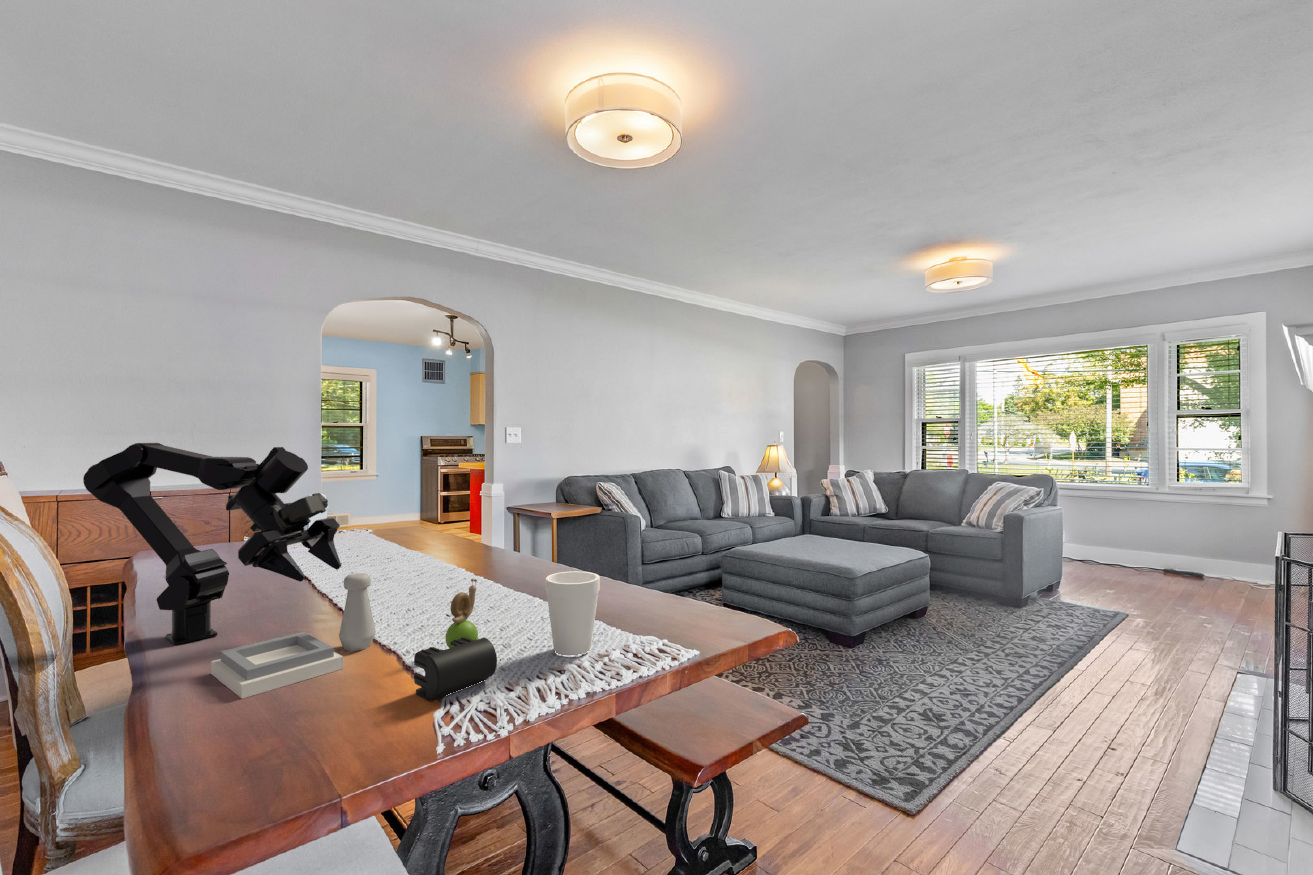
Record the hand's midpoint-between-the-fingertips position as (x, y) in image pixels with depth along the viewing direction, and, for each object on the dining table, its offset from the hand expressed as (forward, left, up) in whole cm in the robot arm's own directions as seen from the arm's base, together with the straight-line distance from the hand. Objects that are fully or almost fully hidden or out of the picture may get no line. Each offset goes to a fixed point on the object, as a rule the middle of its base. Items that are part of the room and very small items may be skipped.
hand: (322, 573), depth 106 cm
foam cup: (+37, +26, -13) cm, 47 cm away
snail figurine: (+22, +14, -13) cm, 29 cm away
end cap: (+35, +4, -13) cm, 38 cm away
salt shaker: (+6, +3, -13) cm, 15 cm away
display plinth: (+7, -10, -13) cm, 17 cm away
